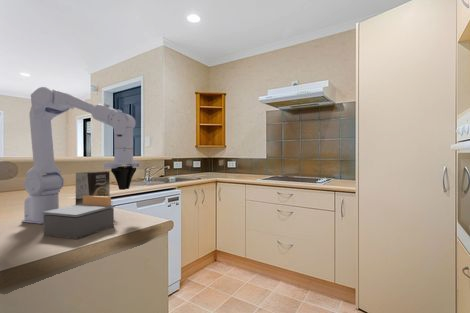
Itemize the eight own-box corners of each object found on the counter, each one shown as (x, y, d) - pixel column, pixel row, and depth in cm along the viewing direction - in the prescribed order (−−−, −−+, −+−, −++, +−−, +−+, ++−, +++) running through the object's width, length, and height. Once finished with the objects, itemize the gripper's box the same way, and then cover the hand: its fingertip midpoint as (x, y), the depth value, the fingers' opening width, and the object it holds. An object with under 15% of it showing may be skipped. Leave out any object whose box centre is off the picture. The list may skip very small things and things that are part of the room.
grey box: (43, 235, 63) (43, 215, 63) (84, 223, 75) (83, 206, 75) (76, 239, 60) (76, 218, 60) (113, 226, 71) (113, 208, 71)
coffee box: (90, 220, 77) (90, 172, 77) (74, 219, 79) (74, 172, 79) (110, 214, 86) (110, 170, 86) (95, 213, 88) (95, 170, 88)
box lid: (42, 214, 63) (42, 202, 63) (84, 204, 75) (83, 195, 75) (76, 217, 59) (76, 204, 59) (114, 207, 71) (114, 196, 71)
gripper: (116, 147, 70) (116, 192, 70) (147, 149, 84) (148, 186, 84) (98, 148, 72) (98, 191, 72) (131, 149, 86) (132, 186, 86)
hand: (124, 189), depth 78 cm, fingers closed
